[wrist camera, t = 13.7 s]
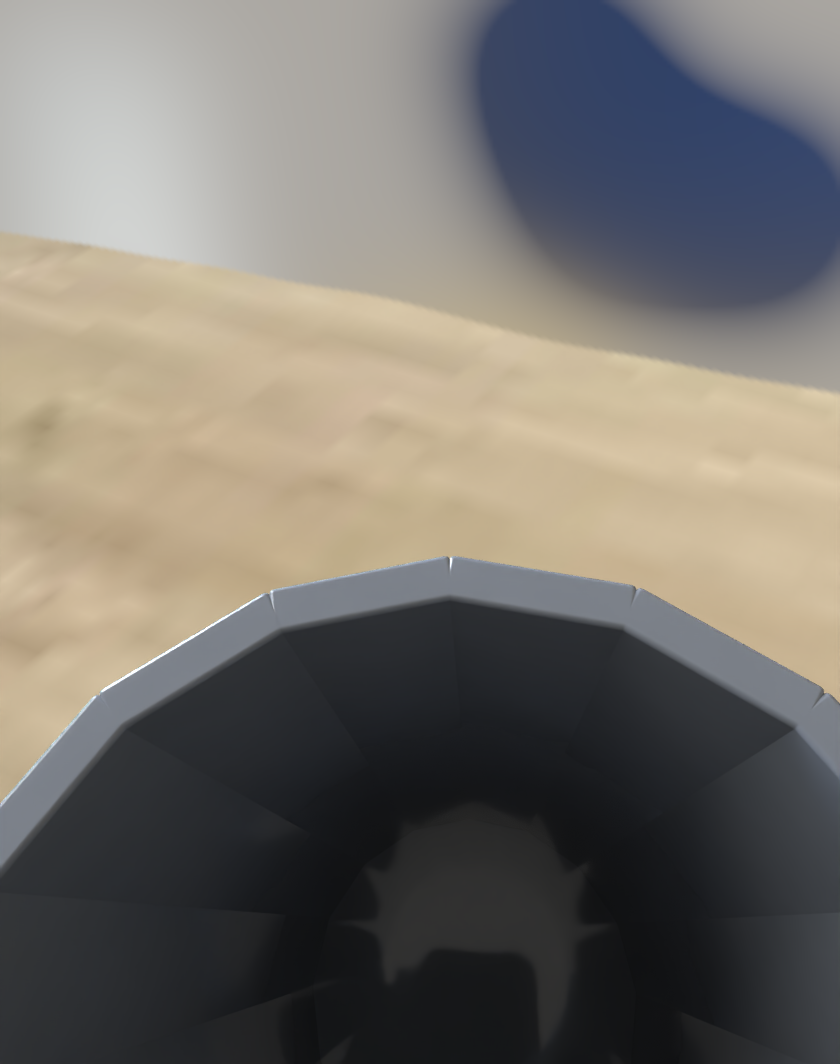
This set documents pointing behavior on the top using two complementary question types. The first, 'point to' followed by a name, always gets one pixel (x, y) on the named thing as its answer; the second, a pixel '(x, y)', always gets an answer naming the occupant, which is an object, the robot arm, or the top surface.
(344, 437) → the top surface
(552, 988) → the tumbler
